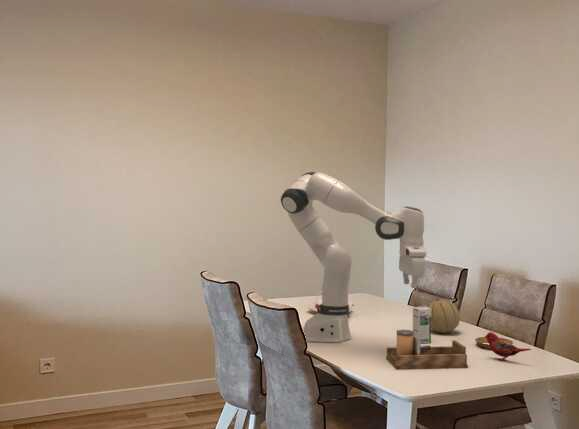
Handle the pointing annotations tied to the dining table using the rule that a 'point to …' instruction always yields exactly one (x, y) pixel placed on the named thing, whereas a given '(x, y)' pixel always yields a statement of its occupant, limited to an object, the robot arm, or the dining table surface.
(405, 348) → the jar
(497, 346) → the decorative bird figurine
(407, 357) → the shallow wooden crate
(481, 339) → the plant saucer
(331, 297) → the robot arm
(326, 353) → the dining table surface
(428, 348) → the pusher
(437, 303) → the cantaloupe
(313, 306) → the crumpled cloth
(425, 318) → the syrup box
